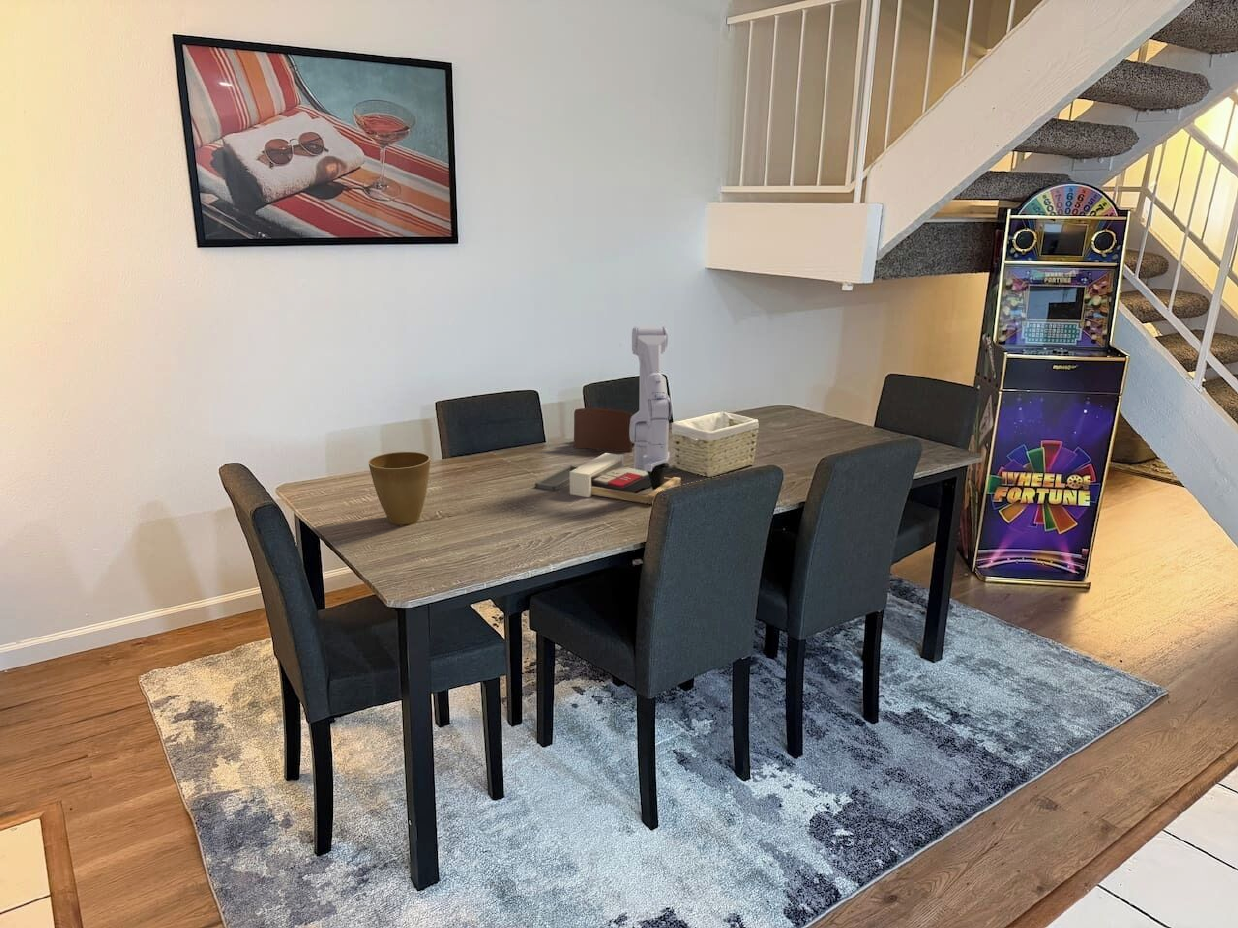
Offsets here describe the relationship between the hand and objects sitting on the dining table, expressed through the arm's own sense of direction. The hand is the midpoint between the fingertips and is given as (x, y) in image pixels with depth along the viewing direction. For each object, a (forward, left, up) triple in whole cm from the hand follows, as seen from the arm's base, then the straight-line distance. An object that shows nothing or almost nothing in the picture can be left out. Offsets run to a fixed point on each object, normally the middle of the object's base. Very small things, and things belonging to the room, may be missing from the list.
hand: (656, 489), depth 243 cm
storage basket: (-34, +5, -2) cm, 34 cm away
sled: (0, -7, -1) cm, 7 cm away
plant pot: (+49, -48, -2) cm, 69 cm away
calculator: (0, -11, -1) cm, 11 cm away
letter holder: (-40, -36, -2) cm, 53 cm away
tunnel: (0, -24, -1) cm, 24 cm away
